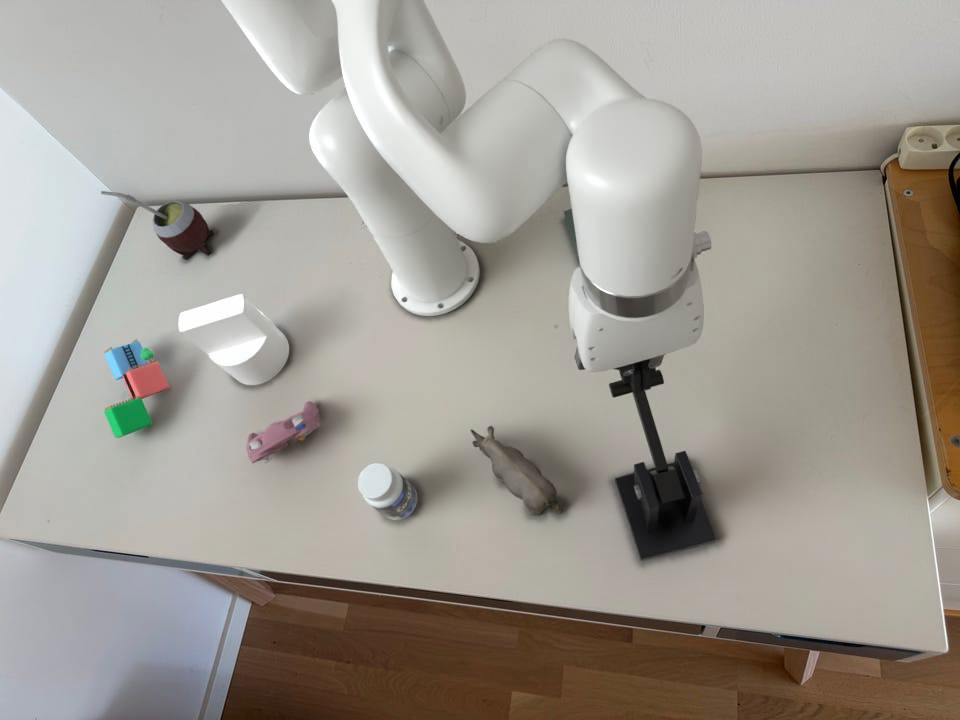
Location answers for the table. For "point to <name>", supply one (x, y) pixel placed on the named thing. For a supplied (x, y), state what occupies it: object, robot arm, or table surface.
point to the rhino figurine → (519, 474)
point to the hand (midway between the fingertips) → (637, 377)
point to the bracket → (664, 511)
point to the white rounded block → (237, 338)
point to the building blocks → (133, 386)
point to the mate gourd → (177, 226)
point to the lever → (653, 442)
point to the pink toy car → (282, 433)
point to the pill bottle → (387, 491)
